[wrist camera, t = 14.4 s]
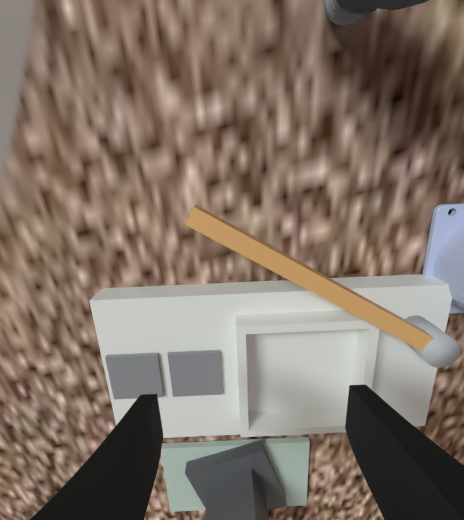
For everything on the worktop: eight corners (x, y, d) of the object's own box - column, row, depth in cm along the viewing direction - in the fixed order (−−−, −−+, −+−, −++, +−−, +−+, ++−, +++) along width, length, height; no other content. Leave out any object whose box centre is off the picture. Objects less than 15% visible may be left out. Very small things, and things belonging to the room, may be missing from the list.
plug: (261, 439, 24) (271, 524, 18) (284, 493, 26) (301, 584, 20) (186, 461, 24) (173, 549, 19) (215, 511, 26) (211, 605, 21)
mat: (308, 436, 24) (309, 442, 24) (304, 499, 27) (306, 505, 26) (161, 443, 24) (160, 448, 24) (171, 505, 27) (170, 511, 26)
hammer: (434, 323, 19) (467, 347, 16) (414, 345, 19) (444, 372, 17) (203, 194, 16) (198, 198, 13) (187, 224, 16) (179, 233, 14)
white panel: (433, 273, 20) (475, 293, 17) (408, 405, 24) (438, 443, 20) (102, 288, 20) (77, 311, 17) (128, 418, 24) (111, 458, 20)
